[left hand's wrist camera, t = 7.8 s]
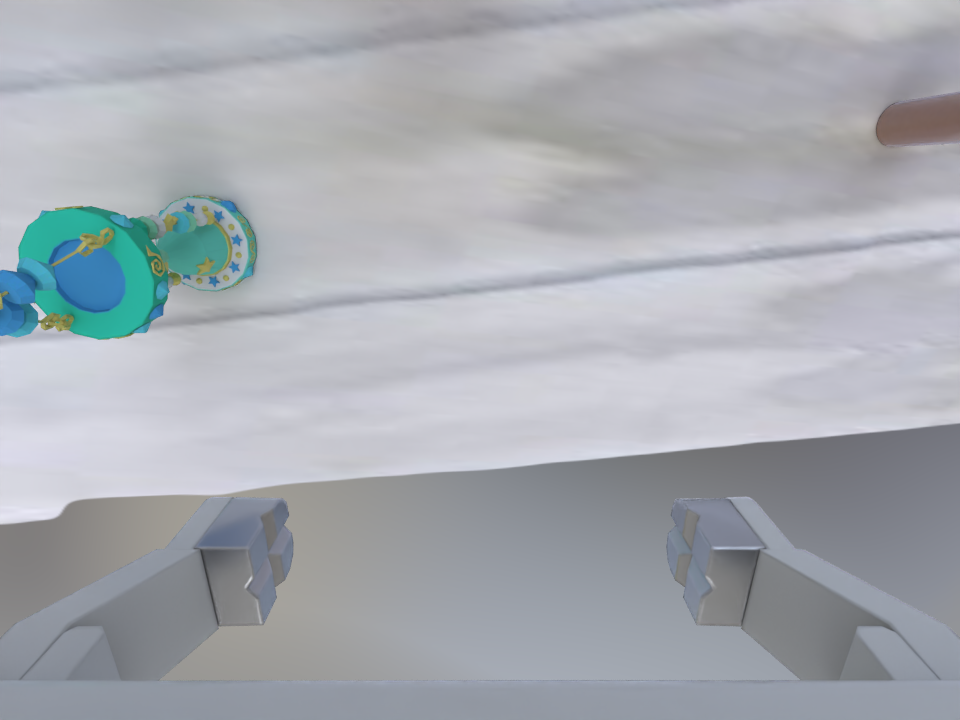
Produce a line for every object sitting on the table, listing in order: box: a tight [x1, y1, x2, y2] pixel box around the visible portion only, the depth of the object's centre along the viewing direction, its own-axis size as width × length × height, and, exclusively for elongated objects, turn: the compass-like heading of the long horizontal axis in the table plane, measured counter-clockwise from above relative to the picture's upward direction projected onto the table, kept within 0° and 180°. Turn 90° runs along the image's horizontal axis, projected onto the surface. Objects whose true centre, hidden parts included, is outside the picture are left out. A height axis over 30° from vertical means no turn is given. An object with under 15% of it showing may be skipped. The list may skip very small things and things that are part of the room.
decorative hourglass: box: [0, 195, 257, 340], centre depth 42 cm, size 11×11×30 cm
